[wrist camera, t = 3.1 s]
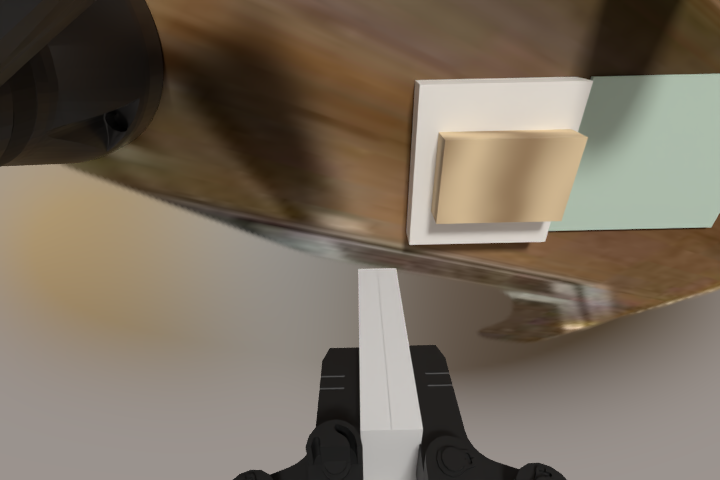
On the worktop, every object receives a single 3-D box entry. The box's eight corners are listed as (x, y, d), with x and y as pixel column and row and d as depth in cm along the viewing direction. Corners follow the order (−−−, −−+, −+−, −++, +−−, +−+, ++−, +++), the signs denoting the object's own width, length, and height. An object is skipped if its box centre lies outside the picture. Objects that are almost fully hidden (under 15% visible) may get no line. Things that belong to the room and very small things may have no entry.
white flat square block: (406, 232, 30) (409, 244, 29) (415, 80, 24) (419, 84, 22) (534, 229, 30) (544, 241, 29) (576, 76, 24) (593, 80, 22)
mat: (545, 229, 30) (547, 230, 30) (591, 76, 24) (593, 76, 24) (708, 225, 30) (711, 227, 30) (795, 72, 24) (800, 72, 24)
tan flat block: (431, 211, 27) (436, 223, 25) (438, 132, 24) (445, 140, 22) (548, 208, 27) (561, 221, 25) (571, 129, 24) (588, 137, 22)
